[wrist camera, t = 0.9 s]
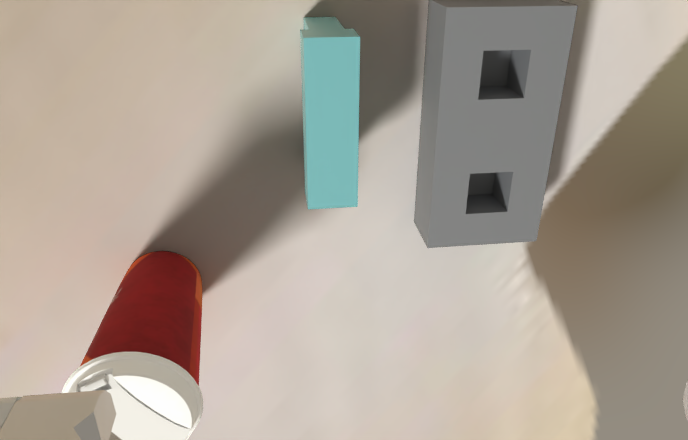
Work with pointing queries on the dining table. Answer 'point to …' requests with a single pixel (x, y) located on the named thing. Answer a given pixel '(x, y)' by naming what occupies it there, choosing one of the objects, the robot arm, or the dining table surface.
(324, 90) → the notched turquoise block
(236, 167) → the dining table surface
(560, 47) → the gray socket block
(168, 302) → the paper cup
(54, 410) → the robot arm
